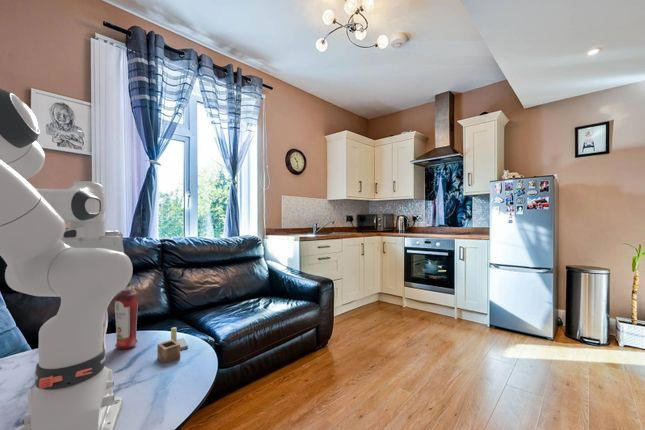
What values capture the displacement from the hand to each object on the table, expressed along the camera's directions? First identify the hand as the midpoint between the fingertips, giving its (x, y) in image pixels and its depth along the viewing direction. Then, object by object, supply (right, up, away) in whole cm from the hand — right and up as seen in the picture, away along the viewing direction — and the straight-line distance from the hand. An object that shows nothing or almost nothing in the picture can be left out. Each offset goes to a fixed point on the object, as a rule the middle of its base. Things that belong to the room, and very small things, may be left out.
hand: (87, 274), depth 94 cm
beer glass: (-5, -30, +9) cm, 32 cm away
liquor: (+4, -30, +13) cm, 33 cm away
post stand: (+22, -30, +13) cm, 39 cm away
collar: (+24, -30, +4) cm, 38 cm away
